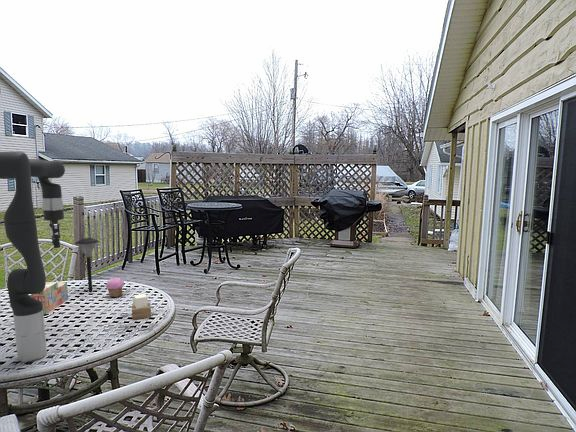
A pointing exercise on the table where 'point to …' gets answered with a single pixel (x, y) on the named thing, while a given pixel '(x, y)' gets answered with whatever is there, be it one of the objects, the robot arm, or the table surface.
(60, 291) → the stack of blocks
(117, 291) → the cupcake
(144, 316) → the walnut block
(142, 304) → the cream cube
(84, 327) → the table surface
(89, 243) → the solar garden light
